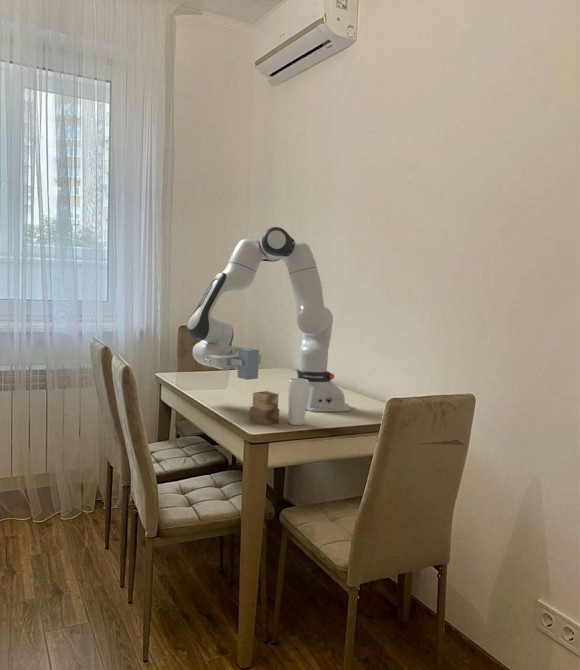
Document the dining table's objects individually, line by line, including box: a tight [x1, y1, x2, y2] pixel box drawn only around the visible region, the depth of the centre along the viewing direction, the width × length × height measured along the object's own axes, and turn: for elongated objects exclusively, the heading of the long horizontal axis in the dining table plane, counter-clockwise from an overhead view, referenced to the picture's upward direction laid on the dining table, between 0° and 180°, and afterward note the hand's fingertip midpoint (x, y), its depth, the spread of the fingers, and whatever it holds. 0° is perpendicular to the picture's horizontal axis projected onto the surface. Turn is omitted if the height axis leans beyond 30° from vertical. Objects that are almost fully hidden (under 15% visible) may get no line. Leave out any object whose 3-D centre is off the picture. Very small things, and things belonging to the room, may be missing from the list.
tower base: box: [248, 406, 280, 426], centre depth 195 cm, size 7×7×5 cm
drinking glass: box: [287, 377, 309, 426], centre depth 195 cm, size 7×7×15 cm
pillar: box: [237, 347, 260, 381], centre depth 201 cm, size 5×5×10 cm
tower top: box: [252, 390, 279, 411], centre depth 195 cm, size 6×6×5 cm
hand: (250, 362), depth 200 cm, fingers closed on pillar, 5 cm apart
